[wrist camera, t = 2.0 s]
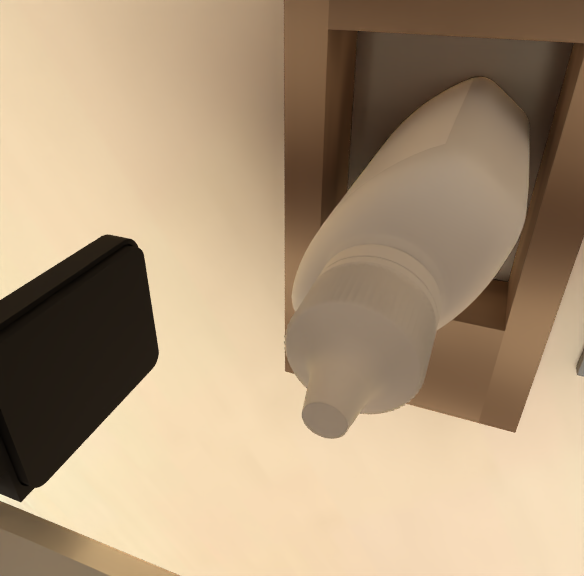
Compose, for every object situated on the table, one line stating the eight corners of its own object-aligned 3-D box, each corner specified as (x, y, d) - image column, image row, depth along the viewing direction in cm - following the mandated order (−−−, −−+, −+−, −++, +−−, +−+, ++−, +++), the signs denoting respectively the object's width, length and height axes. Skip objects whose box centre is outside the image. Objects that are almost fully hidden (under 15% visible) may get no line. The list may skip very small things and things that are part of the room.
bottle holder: (325, -154, 14) (283, -176, 11) (695, -176, 11) (738, -208, 9) (310, 327, 22) (285, 371, 20) (516, 376, 20) (515, 432, 18)
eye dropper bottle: (338, 121, 17) (115, 319, 8) (518, 59, 15) (495, 252, 5) (378, 236, 19) (231, 512, 10) (546, 200, 16) (567, 538, 7)
